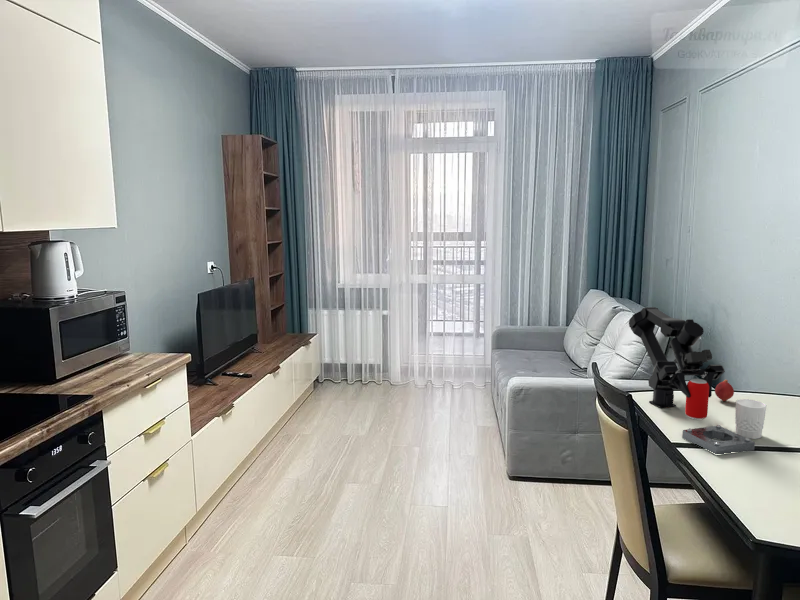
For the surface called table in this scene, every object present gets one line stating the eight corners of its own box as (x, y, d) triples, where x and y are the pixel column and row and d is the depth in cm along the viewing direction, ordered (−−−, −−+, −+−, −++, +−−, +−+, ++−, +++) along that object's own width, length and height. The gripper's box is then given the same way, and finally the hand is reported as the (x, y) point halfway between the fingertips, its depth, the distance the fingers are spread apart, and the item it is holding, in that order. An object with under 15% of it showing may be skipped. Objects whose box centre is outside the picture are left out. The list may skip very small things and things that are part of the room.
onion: (717, 403, 198) (719, 381, 197) (711, 398, 204) (713, 376, 203) (735, 404, 198) (737, 382, 196) (729, 398, 203) (730, 377, 202)
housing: (682, 437, 169) (682, 428, 169) (718, 433, 172) (718, 423, 172) (716, 455, 157) (716, 445, 156) (754, 450, 160) (755, 439, 159)
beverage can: (695, 412, 180) (698, 376, 178) (711, 419, 174) (714, 382, 172) (680, 415, 178) (682, 378, 176) (696, 422, 172) (698, 384, 171)
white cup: (761, 432, 173) (764, 400, 171) (765, 441, 166) (768, 409, 164) (731, 428, 176) (734, 397, 175) (734, 437, 169) (737, 405, 168)
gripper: (664, 340, 176) (680, 385, 167) (723, 339, 177) (742, 384, 167) (651, 358, 185) (665, 402, 176) (708, 357, 186) (725, 400, 176)
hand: (699, 397), depth 174 cm, fingers closed on beverage can, 6 cm apart
